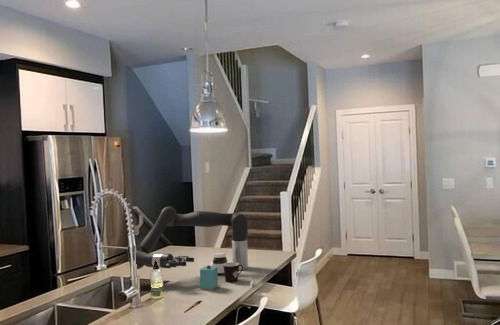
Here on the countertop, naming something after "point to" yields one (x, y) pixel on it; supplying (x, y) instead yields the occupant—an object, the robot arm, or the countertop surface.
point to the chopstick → (193, 305)
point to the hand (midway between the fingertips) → (190, 261)
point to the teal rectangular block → (208, 278)
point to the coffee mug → (231, 271)
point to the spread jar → (219, 262)
